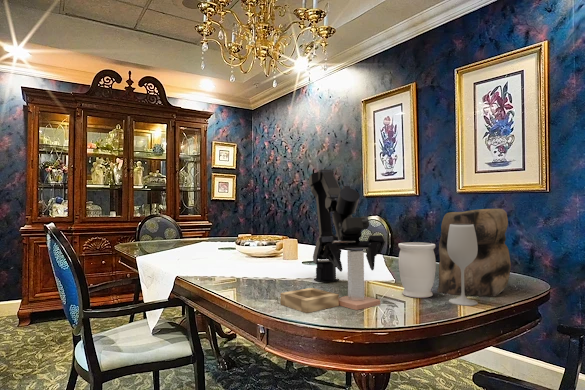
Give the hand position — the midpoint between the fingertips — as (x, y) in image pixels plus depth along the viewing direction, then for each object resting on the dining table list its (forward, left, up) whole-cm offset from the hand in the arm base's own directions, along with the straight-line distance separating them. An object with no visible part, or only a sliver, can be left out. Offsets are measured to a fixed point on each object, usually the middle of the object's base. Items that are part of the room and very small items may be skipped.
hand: (357, 270), depth 105 cm
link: (-1, -1, -8) cm, 8 cm away
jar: (-22, +3, -9) cm, 24 cm away
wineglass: (-24, +16, -9) cm, 30 cm away
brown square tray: (+10, -8, -9) cm, 16 cm away
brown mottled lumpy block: (-41, +10, -9) cm, 43 cm away
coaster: (-1, -1, -9) cm, 9 cm away
